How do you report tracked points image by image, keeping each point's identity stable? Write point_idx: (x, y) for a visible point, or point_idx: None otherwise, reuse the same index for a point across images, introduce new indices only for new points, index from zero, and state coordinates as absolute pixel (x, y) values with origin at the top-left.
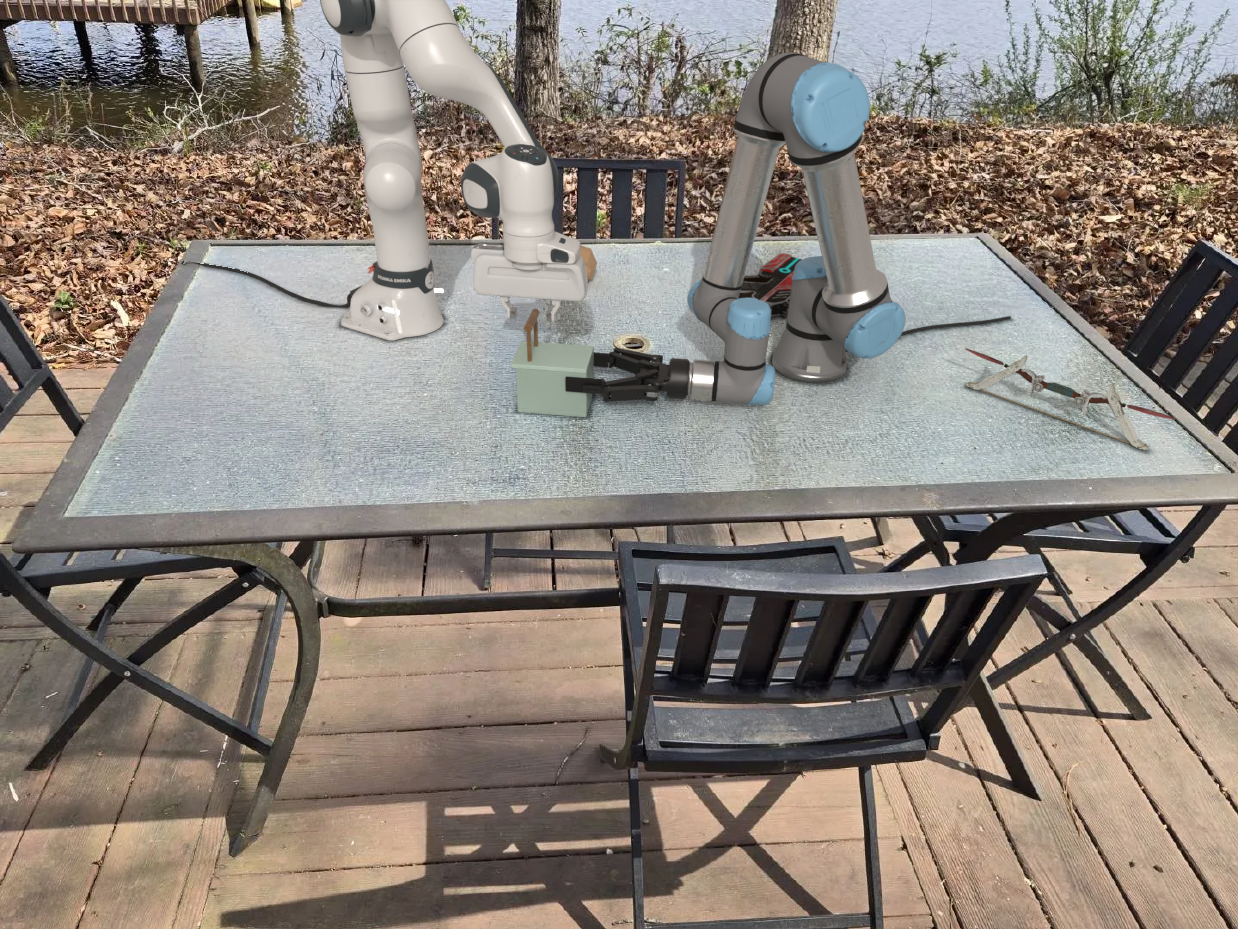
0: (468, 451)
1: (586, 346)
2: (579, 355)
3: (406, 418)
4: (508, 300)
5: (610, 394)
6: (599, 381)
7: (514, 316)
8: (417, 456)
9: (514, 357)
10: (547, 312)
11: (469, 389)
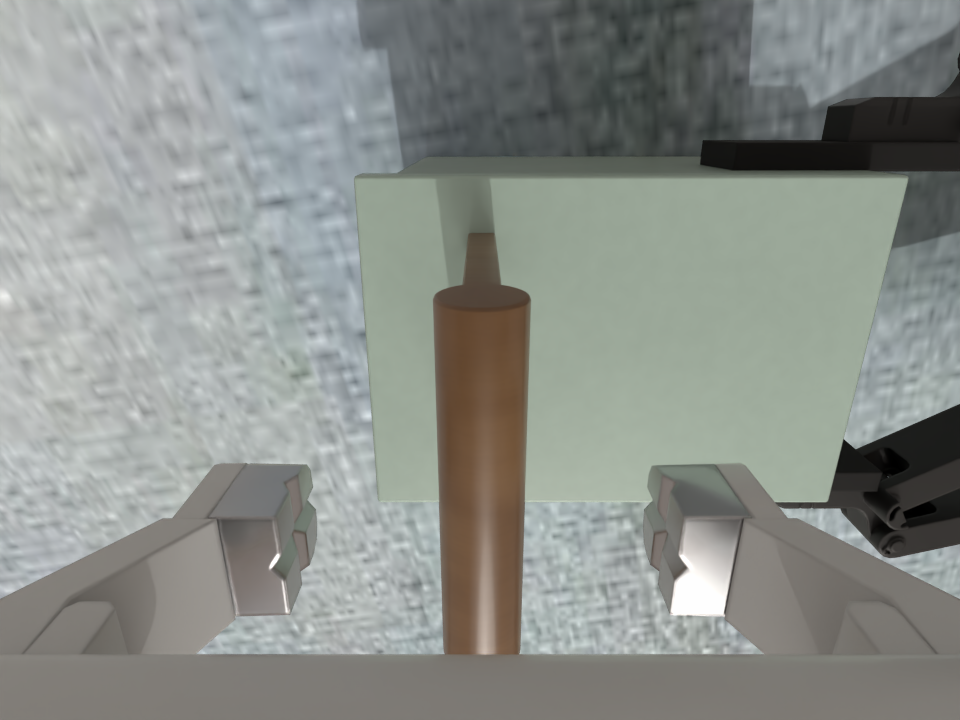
0: (338, 617)
1: (852, 194)
2: (793, 341)
3: (41, 475)
4: (126, 583)
5: (884, 469)
6: (867, 490)
7: (303, 564)
8: None
9: (378, 428)
10: (684, 601)
11: (164, 220)
